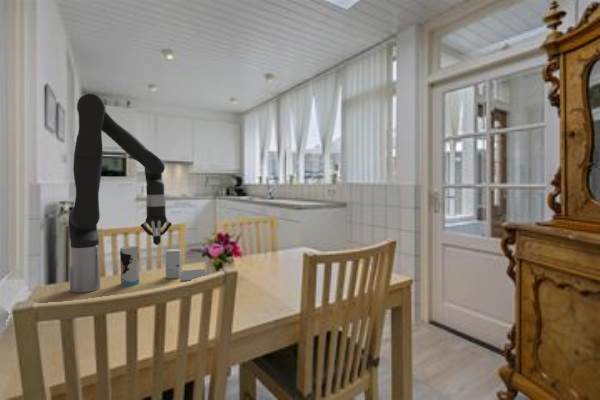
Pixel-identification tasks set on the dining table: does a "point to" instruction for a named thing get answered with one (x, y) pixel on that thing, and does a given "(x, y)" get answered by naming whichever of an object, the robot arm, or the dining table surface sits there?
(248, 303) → the dining table surface
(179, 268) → the skincare box
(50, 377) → the dining table surface
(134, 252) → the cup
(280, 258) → the dining table surface
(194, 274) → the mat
